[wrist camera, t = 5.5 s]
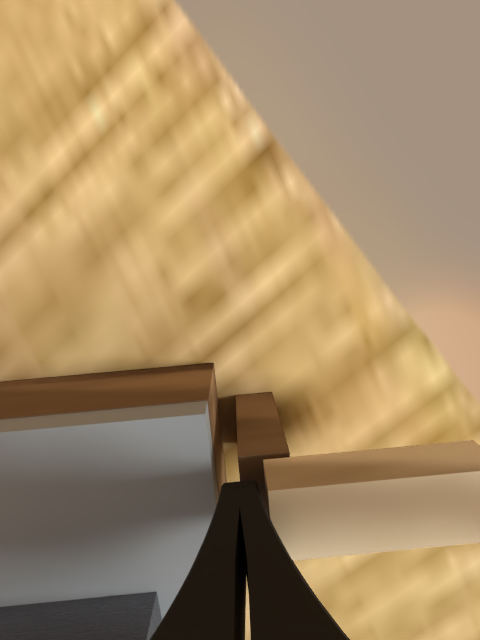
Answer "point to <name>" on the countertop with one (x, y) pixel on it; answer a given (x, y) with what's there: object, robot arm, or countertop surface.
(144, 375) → the box
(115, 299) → the countertop surface
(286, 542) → the thin wooden plank
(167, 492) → the lid
